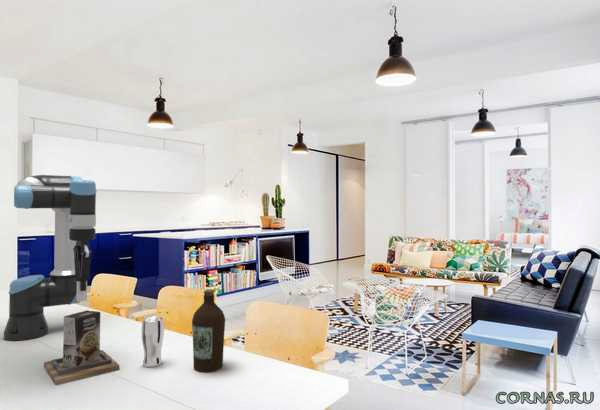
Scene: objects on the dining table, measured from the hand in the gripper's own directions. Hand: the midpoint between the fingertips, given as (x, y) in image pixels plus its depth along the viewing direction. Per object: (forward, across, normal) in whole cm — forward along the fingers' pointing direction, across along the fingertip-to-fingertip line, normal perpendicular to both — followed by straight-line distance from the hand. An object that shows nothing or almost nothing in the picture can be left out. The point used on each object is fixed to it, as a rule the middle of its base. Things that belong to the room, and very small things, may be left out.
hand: (81, 300), depth 136 cm
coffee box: (+21, +1, 0) cm, 21 cm away
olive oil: (+22, +26, +32) cm, 46 cm away
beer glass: (+22, +12, +19) cm, 31 cm away
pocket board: (+22, +1, 0) cm, 22 cm away
